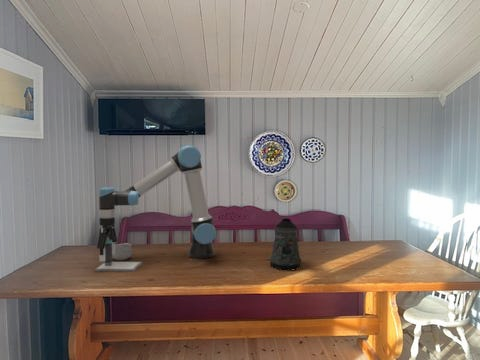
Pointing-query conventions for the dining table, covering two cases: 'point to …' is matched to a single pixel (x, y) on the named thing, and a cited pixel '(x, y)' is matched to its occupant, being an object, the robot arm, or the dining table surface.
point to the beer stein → (285, 247)
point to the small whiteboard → (119, 266)
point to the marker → (108, 252)
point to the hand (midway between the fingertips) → (107, 257)
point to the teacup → (122, 251)
